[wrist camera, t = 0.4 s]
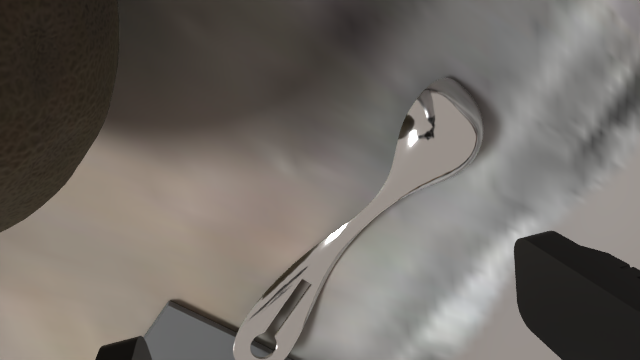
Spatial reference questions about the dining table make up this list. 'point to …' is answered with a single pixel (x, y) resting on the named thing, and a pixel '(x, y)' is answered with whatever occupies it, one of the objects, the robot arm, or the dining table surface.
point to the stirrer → (375, 205)
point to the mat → (192, 337)
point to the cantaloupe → (51, 94)
